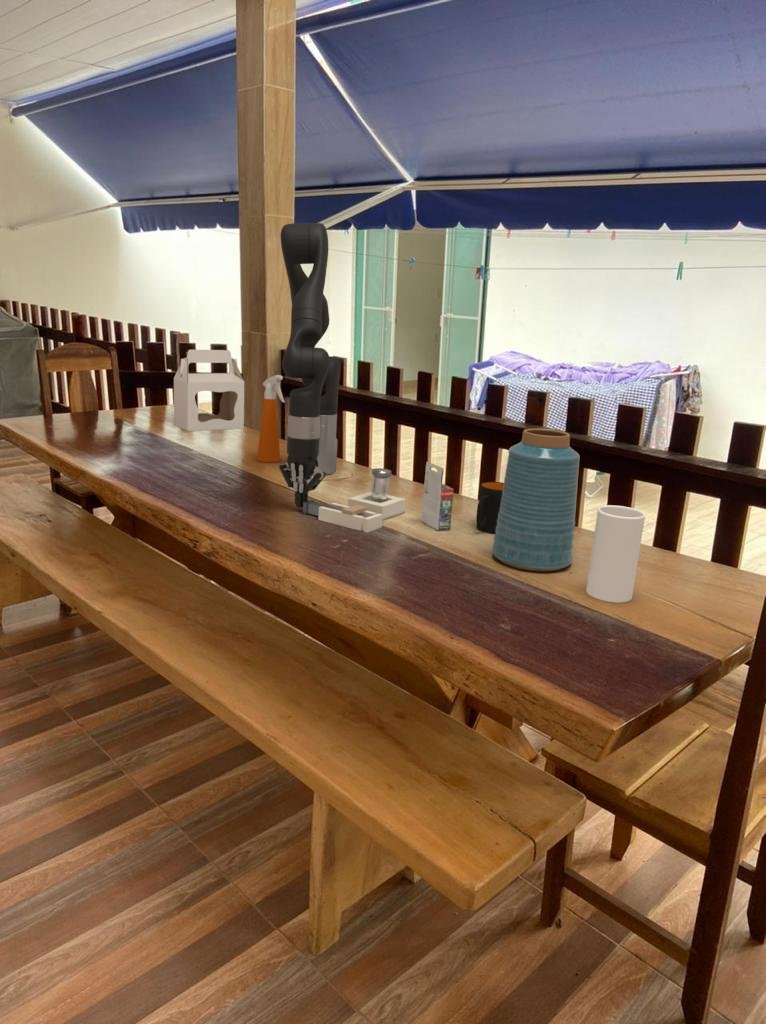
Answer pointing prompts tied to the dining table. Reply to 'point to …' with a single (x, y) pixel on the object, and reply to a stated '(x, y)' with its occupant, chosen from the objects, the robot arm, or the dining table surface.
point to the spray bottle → (270, 422)
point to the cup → (615, 553)
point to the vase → (538, 503)
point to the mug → (489, 506)
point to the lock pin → (316, 507)
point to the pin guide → (351, 517)
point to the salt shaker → (380, 485)
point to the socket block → (380, 505)
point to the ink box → (436, 499)
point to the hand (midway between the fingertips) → (300, 506)
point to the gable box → (216, 382)
